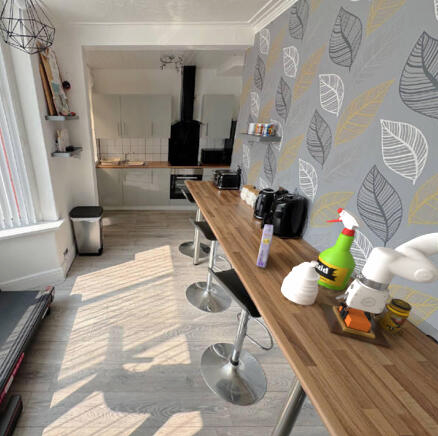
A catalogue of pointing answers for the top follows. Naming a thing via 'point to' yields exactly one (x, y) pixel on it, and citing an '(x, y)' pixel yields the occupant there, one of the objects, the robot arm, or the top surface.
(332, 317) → the board
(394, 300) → the condiment
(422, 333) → the top surface
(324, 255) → the spray bottle
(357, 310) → the pad
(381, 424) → the top surface
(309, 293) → the honey pot
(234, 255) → the top surface
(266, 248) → the cake pan box
